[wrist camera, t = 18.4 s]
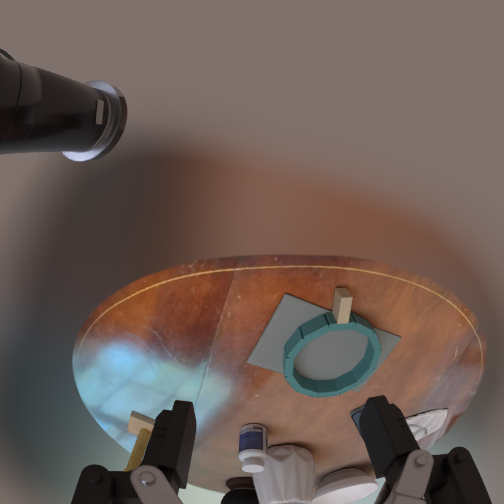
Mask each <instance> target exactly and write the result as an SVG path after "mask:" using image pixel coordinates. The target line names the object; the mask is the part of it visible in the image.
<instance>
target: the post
mask: <svg viewBox="0 0 504 504" xmlns="http://www.w3.org/2000/svg"><path fill="white" fill-rule="evenodd" d="M154 423H155V420H153V419H150V418H148V417H146V416H143V415H141V414H139V413H136V412H134V411H132V413H131V416H130V421H129V426H128V432H130V433H133V434H135V435H137V436H138V437H137V440H136V443H135V445H134V448H133V451H132V454H131V456H130V459H129V462H128V465H127V467H126V468H125V469H124V471H130V470H133V469H135V468H137V467H138V466H139V465H140V464H141V461H142V458H143V455H144V452H145V449H146V446H147V443H148V440H149V439H150V436H151V432H152V429H153V428H154Z"/></svg>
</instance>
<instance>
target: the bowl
mask: <svg viewBox="0 0 504 504" xmlns="http://www.w3.org/2000/svg"><path fill="white" fill-rule="evenodd" d="M378 486H379V485H378V483H377V482H376V481H375V480H374V479H373V478H372V477H371V476H369V475H368V474H365V472H363V471H360V470H359V469H357V468H348V469H343V470H339V471H336V472H333V473H331V474H329V475H327V476H325V477H324V478H323V480H322V481H321V483H320V484H319V486H318V488H317V489H316V491H315V493H314V495H313V500H312V504H347V503H350V502H353V501H356V500H358V499H361V498H364V497H366V496H367V495H369V494H371V493H373V492H374V491H375V490H376V489H377V488H378Z"/></svg>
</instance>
